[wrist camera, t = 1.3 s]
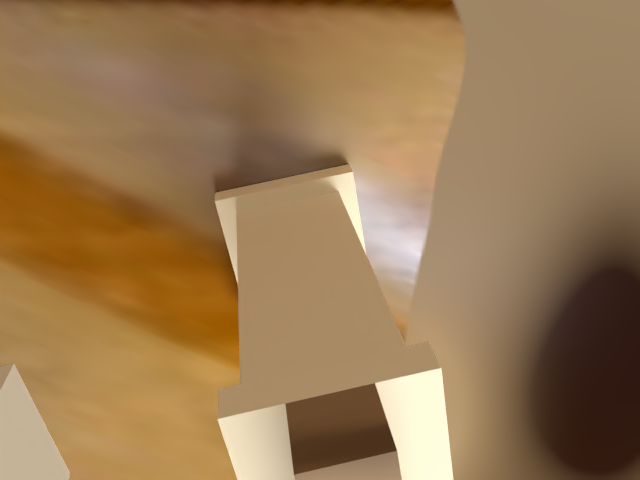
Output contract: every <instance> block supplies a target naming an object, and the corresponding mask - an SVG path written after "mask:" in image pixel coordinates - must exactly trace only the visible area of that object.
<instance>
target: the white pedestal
mask: <svg viewBox="0 0 640 480" xmlns="http://www.w3.org/2000/svg"><path fill="white" fill-rule="evenodd" d="M215 204H216V208H217V211H218V215H219V219H220V222H221V226H222V230H223V233H224V237H225V240H226V244H227V248H228V251H229V255H230V259H231V262H232V266H233V269H234V273H235V277H236V280H237V284H238V309H239V351H240V384H238V385H234V386H229V387H225V388H220V389H218V416H217V419H218V422H219V425H220V428H221V431H222V434H223V437H224V440H225V443H226V446H227V449H228V452H229V455H230V458H231V461H232V464H233V467H234V470H235V473H236V476H237V479H238V480H295V477H294V471H293V463H292V455H291V446H290V438H289V430H288V422H287V413H286V405H285V404H286V403H290V402H294V401H299V400H303V399H308V398H312V397H316V396H321V395H325V394H330V393H334V392H338V391H343V390H347V389H351V388H356V387H360V386H365V385H369V384H373V383H375V385H376V388H377V391H378V394H379V397H380V400H381V403H382V406H383V409H384V412H385V415H386V418H387V422H388V425H389V428H390V431H391V434H392V437H393V440H394V443H395V446H396V449H397V453H398V459H399V466H400V472H401V478H402V480H453V473H452V464H451V455H450V445H449V436H448V427H447V417H446V408H445V399H444V389H443V379H442V371H441V366H440V364H439V362H438V360H437V358H436V356H435V354H434V352H433V350H432V348H431V346H430V344H429V342H424V343H420V344H415V345H411V346H406V345H405V343H404V340H403V338H402V336H401V333H400V331H399V329H398V327H397V324H396V322H395V320H394V317H393V315H392V313H391V311H390V308H389V306H388V304H387V301H386V299H385V297H384V295H383V292H382V290H381V288H380V285H379V283H378V281H377V279H376V276H375V274H374V272H373V269H372V267H371V265H370V262H369V260H368V258H367V256H366V251H365V245H364V238H363V232H362V226H361V220H360V213H359V207H358V201H357V195H356V188H355V182H354V176H353V171H352V169H351V167H350V166H349V164H347V165H342V166H338V167H333V168H328V169H324V170H319V171H314V172H310V173H305V174H300V175H295V176H291V177H286V178H281V179H277V180H272V181H267V182H263V183H258V184H253V185H249V186H244V187H239V188H235V189H230V190H225V191H220V192H216V193H215Z"/></svg>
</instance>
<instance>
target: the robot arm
mask: <svg viewBox="0 0 640 480" xmlns="http://www.w3.org/2000/svg"><path fill="white" fill-rule="evenodd" d="M69 477H70V472H69V470H68V468H67V466H66V464H65V462H64V460H63V458H62V457H61V455H60V453H59V451H58V449H57V447H56V445H55V443H54V441H53V439H52V437H51V435H50V433H49V431H48V429H47V427H46V425H45V423H44V421H43V419H42V417H41V416H40V414H39V412H38V410H37V408H36V406H35V404H34V402H33V400H32V398H31V396H30V394H29V392H28V390H27V388H26V386H25V384H24V382H23V380H22V378H21V376H20V375H19V373H18V371H17V369H16V367H15V365H14V364H10V365H6V366H1V367H0V480H69Z"/></svg>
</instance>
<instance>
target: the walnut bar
mask: <svg viewBox="0 0 640 480" xmlns="http://www.w3.org/2000/svg"><path fill="white" fill-rule="evenodd" d="M285 405H286V413H287V422H288V430H289V438H290V446H291V455H292V463H293V471H294V477H295V480H402V478H401V472H400V466H399V459H398V453H397V449H396V446H395V443H394V440H393V437H392V434H391V431H390V428H389V425H388V422H387V418H386V415H385V412H384V409H383V406H382V403H381V400H380V397H379V394H378V391H377V388H376V385H375V383H373V384H369V385H365V386H360V387H356V388H351V389H347V390H343V391H338V392H334V393H330V394H325V395H321V396H316V397H312V398H308V399H303V400H299V401H294V402H290V403H286V404H285Z"/></svg>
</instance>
